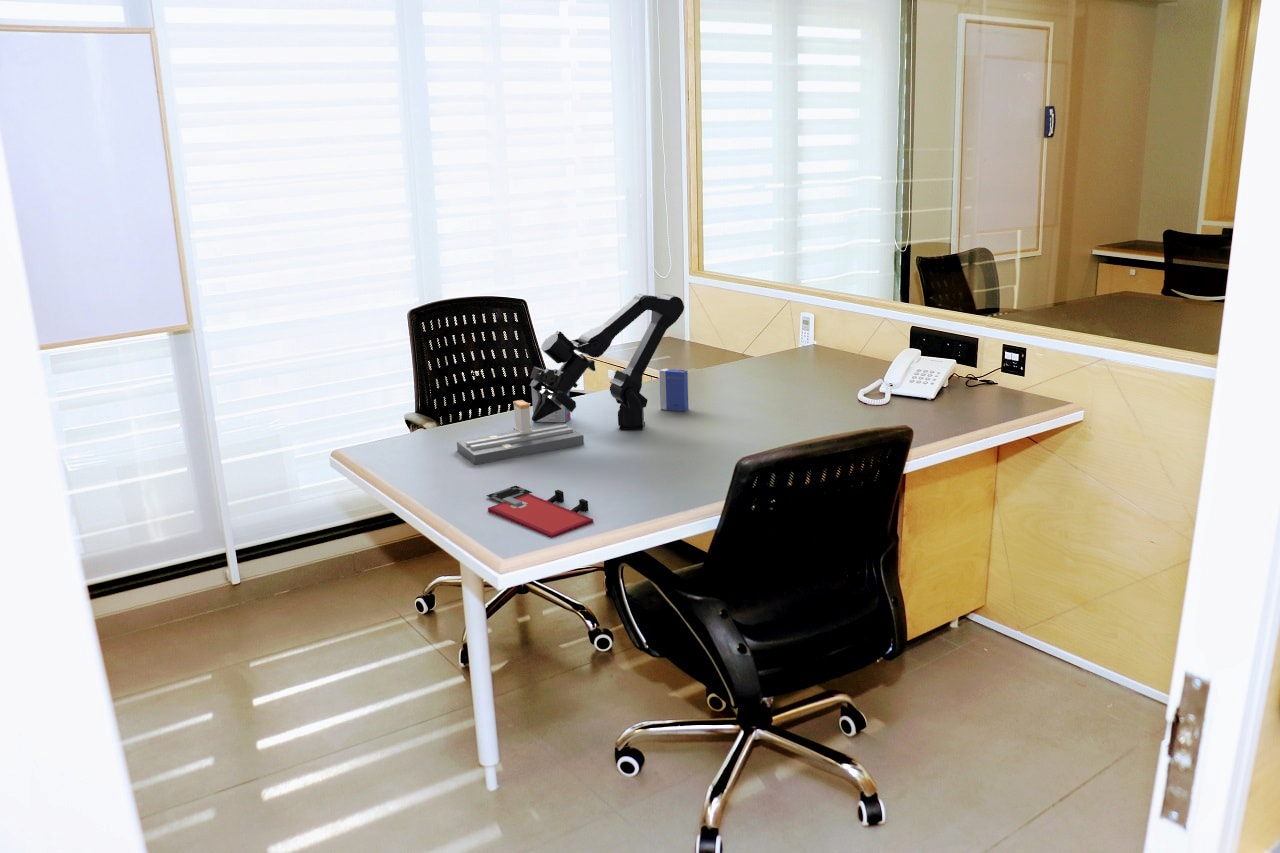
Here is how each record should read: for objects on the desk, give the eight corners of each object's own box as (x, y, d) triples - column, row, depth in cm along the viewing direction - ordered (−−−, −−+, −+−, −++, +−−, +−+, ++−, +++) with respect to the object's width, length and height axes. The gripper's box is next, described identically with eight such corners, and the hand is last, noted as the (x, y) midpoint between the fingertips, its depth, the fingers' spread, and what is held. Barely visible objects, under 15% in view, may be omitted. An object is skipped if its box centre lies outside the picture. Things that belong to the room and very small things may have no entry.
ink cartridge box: (571, 417, 299) (568, 368, 294) (566, 423, 293) (563, 373, 289) (538, 417, 301) (535, 368, 296) (533, 422, 295) (529, 372, 291)
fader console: (562, 431, 285) (561, 420, 284) (583, 444, 273) (583, 432, 272) (457, 450, 272) (456, 438, 271) (475, 464, 260) (474, 452, 259)
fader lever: (525, 433, 275) (522, 399, 273) (533, 438, 271) (530, 404, 268) (514, 435, 274) (511, 401, 272) (522, 440, 269) (519, 405, 267)
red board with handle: (522, 487, 243) (468, 505, 234) (521, 475, 242) (467, 493, 233) (607, 520, 222) (552, 541, 212) (606, 507, 221) (551, 529, 212)
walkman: (688, 409, 302) (687, 369, 299) (684, 411, 300) (683, 371, 297) (664, 407, 306) (662, 367, 302) (660, 409, 303) (658, 369, 300)
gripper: (534, 349, 278) (498, 395, 276) (562, 362, 262) (524, 410, 260) (563, 374, 284) (528, 419, 282) (592, 387, 268) (555, 435, 266)
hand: (533, 420), depth 272 cm, fingers closed
